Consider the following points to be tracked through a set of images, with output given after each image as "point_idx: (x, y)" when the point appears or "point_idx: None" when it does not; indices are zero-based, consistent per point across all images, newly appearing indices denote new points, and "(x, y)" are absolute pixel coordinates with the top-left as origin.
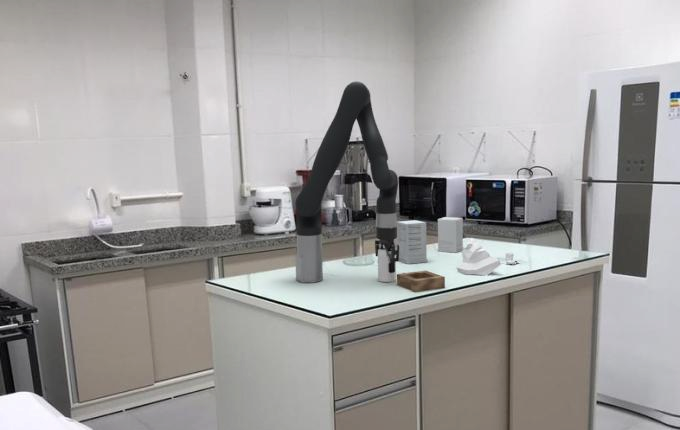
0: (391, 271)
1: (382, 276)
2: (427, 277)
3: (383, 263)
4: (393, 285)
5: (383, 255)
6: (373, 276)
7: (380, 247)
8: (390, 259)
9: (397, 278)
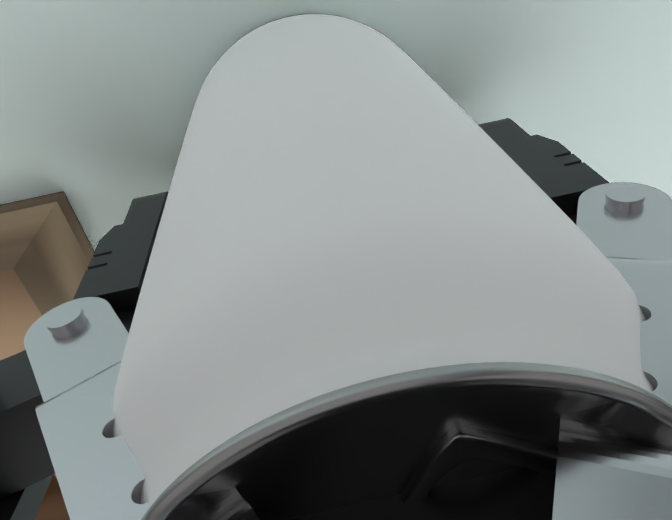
0: (113, 230)
1: (223, 68)
2: (40, 509)
3: (182, 176)
4: (29, 141)
5: (156, 301)
6: (622, 31)
7: (563, 467)
8: (41, 372)
9: (14, 239)
